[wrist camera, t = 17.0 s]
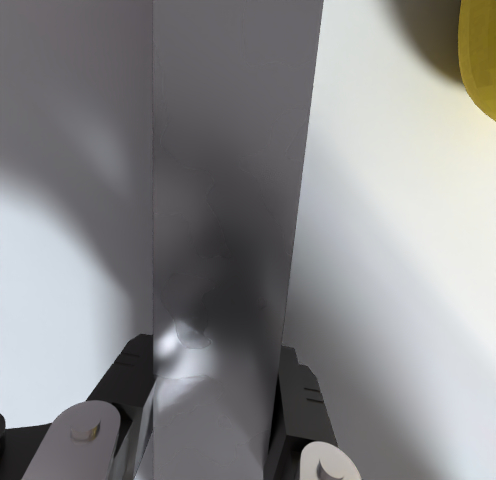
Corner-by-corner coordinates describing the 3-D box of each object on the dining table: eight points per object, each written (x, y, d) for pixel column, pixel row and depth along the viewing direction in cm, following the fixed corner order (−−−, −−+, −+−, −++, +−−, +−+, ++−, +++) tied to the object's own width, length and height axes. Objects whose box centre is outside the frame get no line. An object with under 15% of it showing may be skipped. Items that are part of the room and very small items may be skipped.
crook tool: (181, 529, 14) (153, 673, 10) (210, -374, 7) (151, -1145, 3) (426, 548, 14) (495, 697, 10) (712, -327, 7) (1357, -1023, 3)
